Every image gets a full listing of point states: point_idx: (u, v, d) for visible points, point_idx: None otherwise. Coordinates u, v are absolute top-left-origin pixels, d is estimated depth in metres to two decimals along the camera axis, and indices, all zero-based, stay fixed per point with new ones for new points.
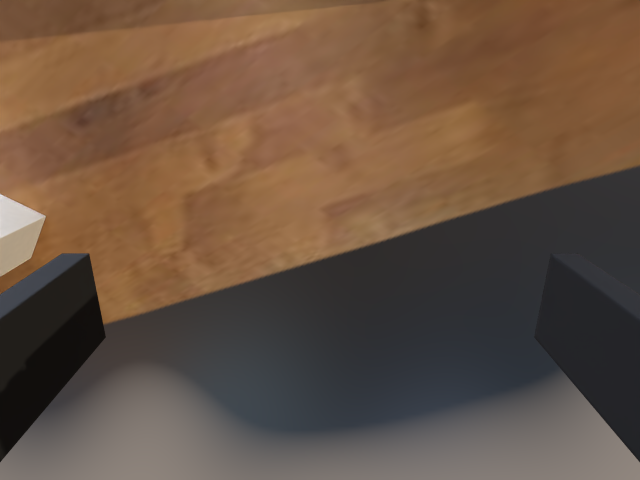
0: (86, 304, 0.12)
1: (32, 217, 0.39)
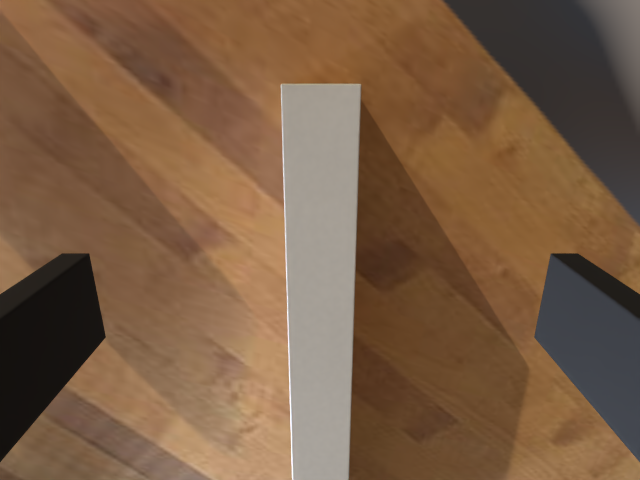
0: (86, 304, 0.12)
1: None
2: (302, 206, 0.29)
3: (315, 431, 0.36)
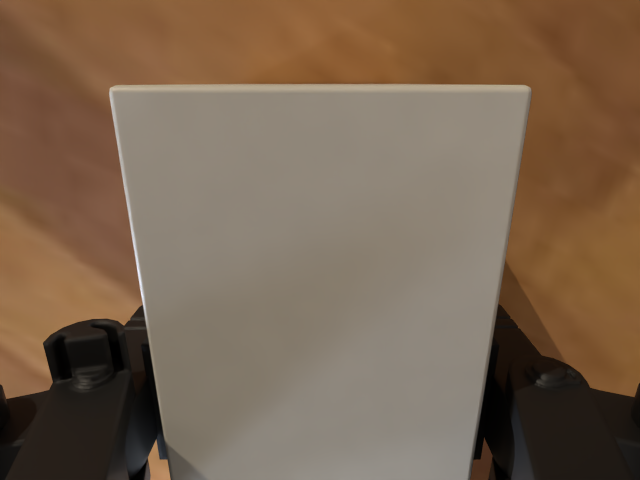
0: None
1: None
2: None
3: None
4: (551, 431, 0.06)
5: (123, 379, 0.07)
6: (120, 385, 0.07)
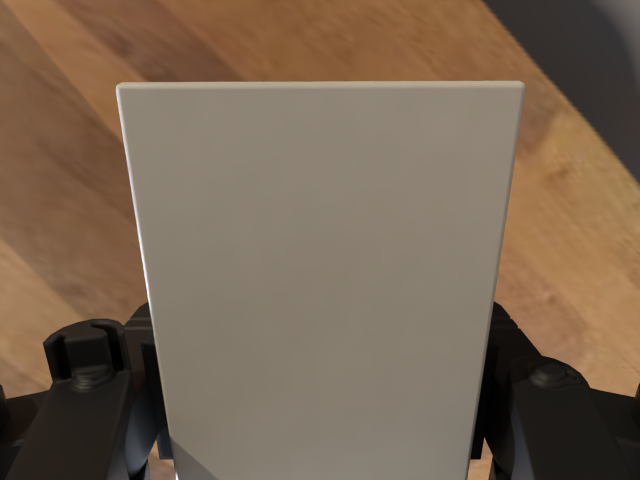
0: None
1: None
2: None
3: None
4: (551, 431, 0.06)
5: (123, 379, 0.07)
6: (120, 385, 0.07)
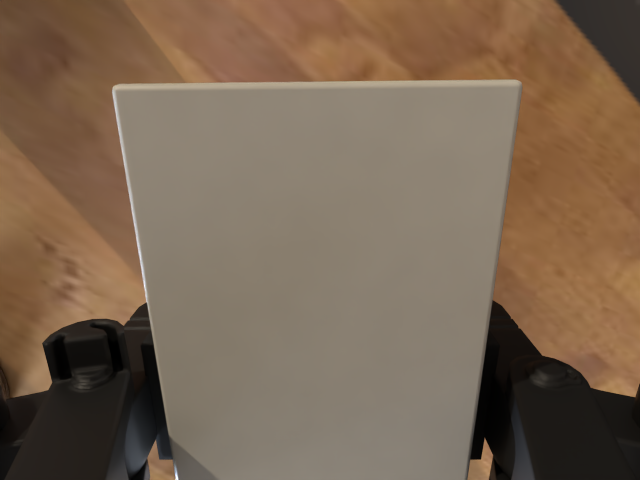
0: None
1: None
2: None
3: None
4: (551, 431, 0.06)
5: (122, 379, 0.07)
6: (119, 385, 0.07)
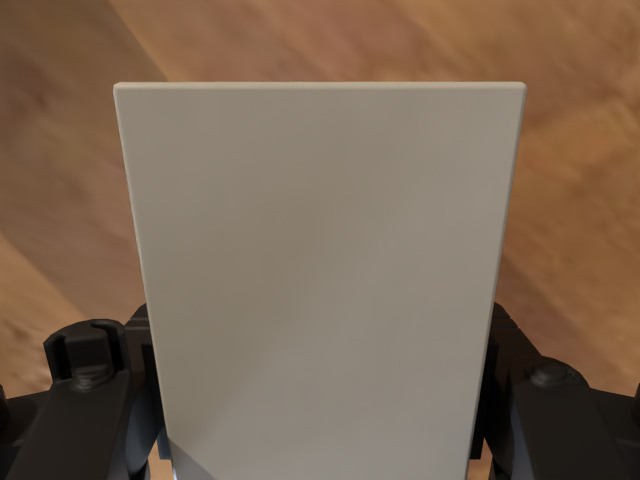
0: None
1: None
2: None
3: None
4: (551, 431, 0.06)
5: (123, 379, 0.07)
6: (120, 385, 0.07)
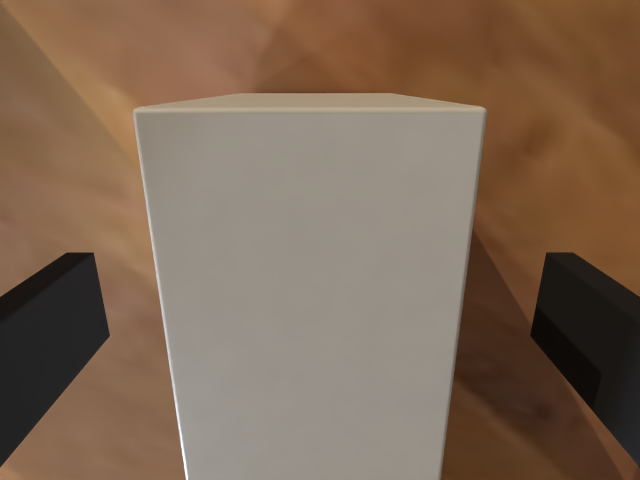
0: (91, 303, 0.12)
1: None
2: None
3: None
4: None
5: None
6: None
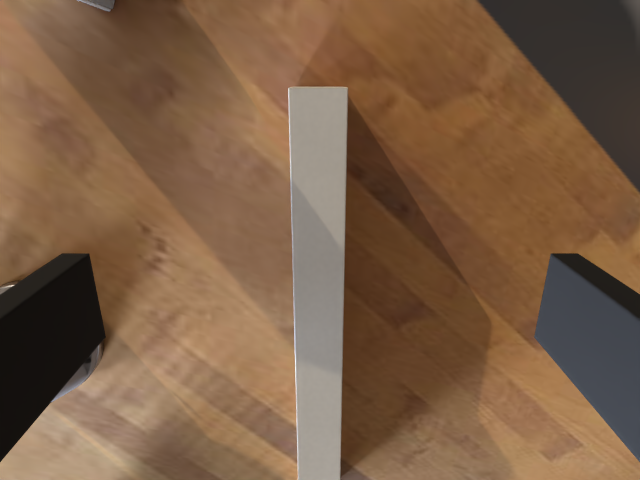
0: (86, 304, 0.12)
1: None
2: (304, 180, 0.39)
3: (314, 363, 0.45)
4: None
5: None
6: None
